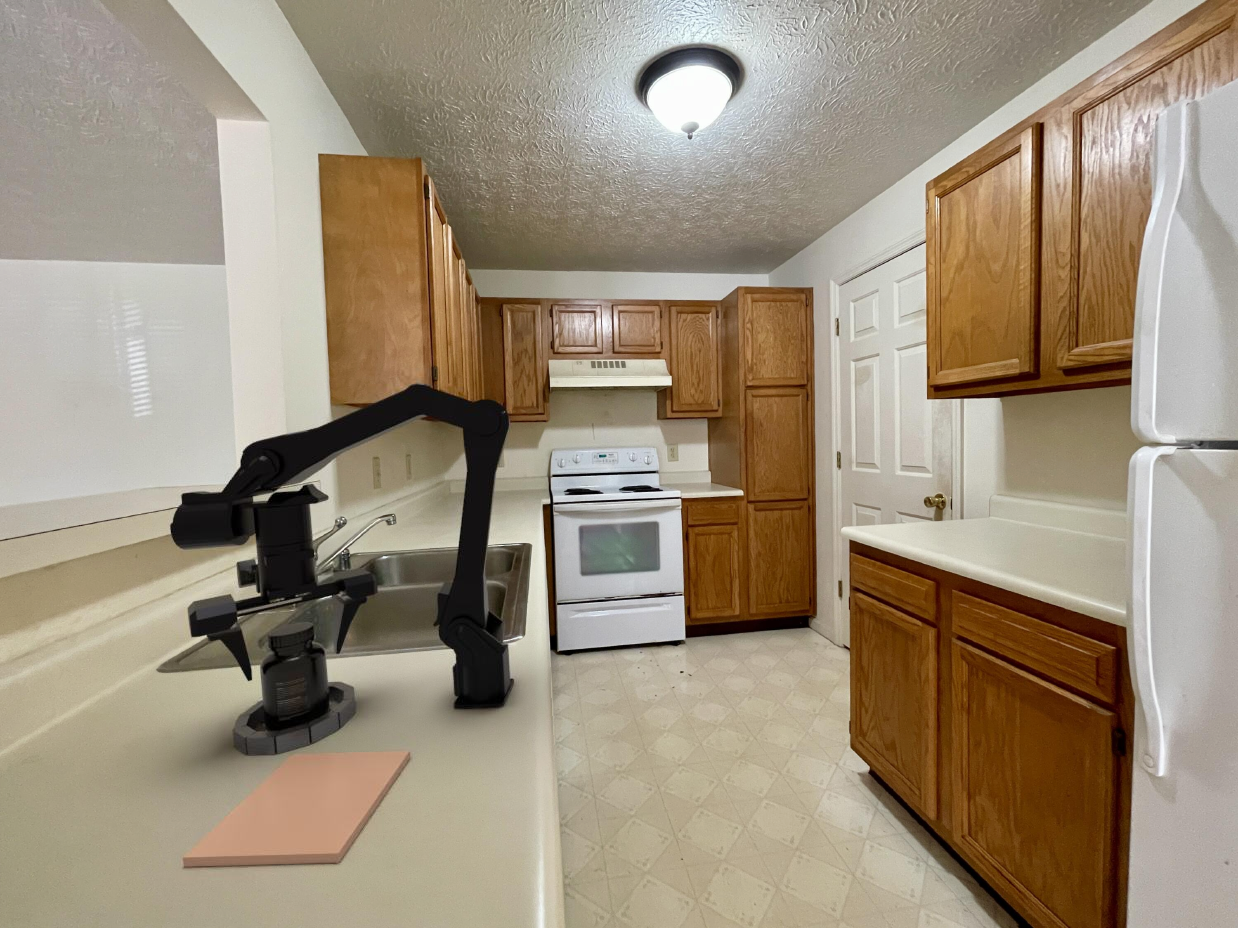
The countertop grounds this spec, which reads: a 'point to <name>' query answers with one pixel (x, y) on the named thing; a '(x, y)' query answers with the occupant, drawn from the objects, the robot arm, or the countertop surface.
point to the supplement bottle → (294, 678)
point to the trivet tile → (302, 811)
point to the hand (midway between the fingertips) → (295, 665)
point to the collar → (294, 736)
